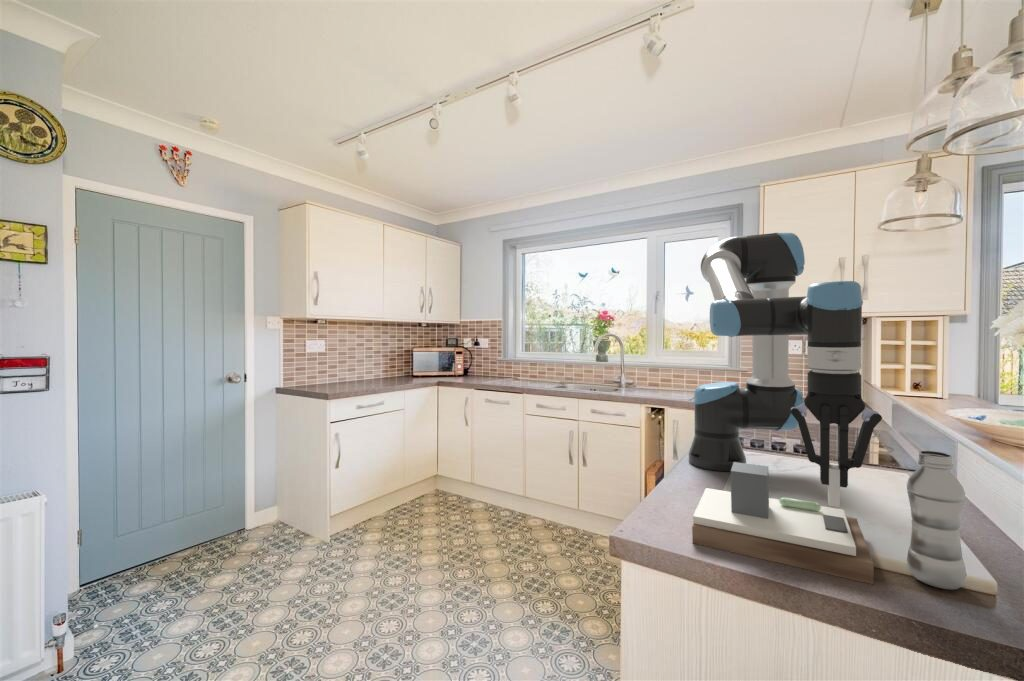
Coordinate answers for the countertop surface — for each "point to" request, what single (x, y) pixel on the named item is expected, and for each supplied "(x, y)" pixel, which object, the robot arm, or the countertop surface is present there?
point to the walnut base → (793, 551)
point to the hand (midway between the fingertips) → (833, 503)
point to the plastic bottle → (936, 522)
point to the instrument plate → (772, 513)
